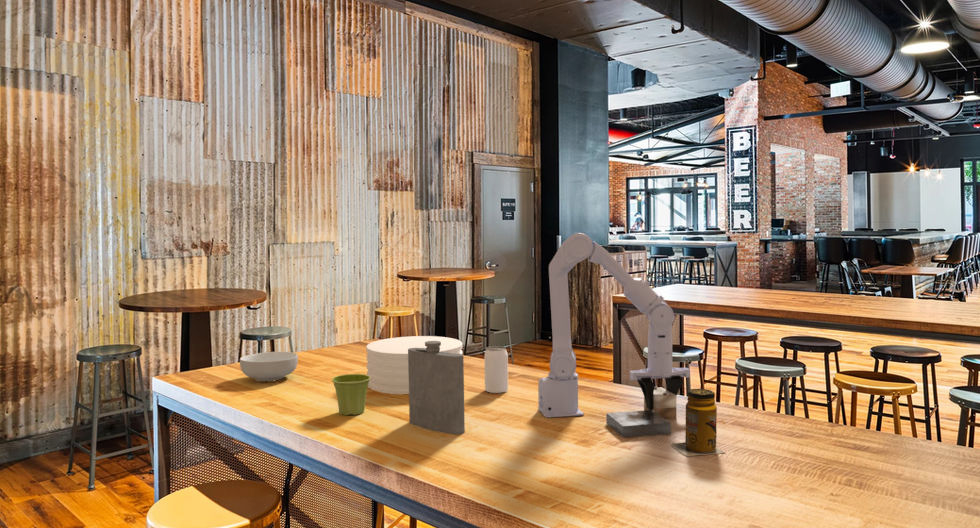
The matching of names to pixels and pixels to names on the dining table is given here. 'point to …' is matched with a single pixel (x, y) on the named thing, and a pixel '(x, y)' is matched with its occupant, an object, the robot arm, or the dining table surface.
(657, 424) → the stand
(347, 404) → the plant pot
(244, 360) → the cereal bowl
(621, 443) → the dining table surface
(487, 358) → the can
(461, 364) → the hip flask
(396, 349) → the plate stack
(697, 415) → the condiment
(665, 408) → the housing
